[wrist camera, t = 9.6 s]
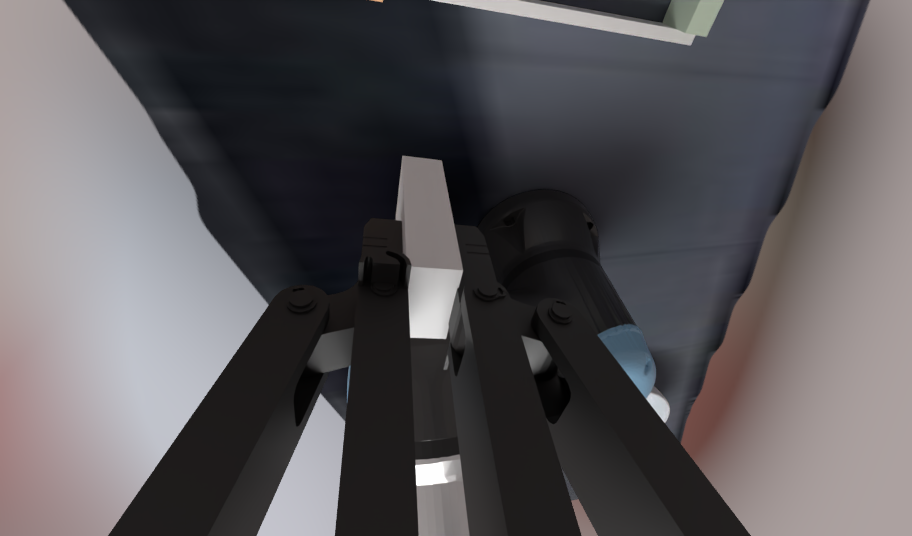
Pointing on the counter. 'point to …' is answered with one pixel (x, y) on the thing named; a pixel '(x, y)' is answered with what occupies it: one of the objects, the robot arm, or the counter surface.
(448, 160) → the counter surface
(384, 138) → the counter surface
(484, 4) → the channel
